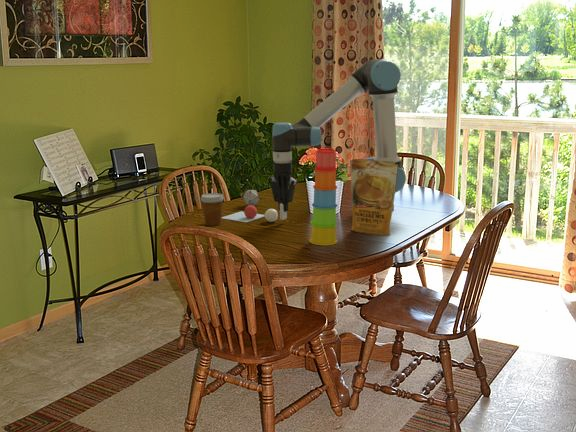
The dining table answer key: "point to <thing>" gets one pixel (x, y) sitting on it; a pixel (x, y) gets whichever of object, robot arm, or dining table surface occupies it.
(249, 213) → the red ball
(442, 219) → the dining table surface
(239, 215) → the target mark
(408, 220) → the dining table surface
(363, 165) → the pancake mix bag
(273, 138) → the robot arm
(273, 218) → the cue ball
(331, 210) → the stacking cups
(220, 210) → the disposable coffee cup
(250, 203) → the game die
